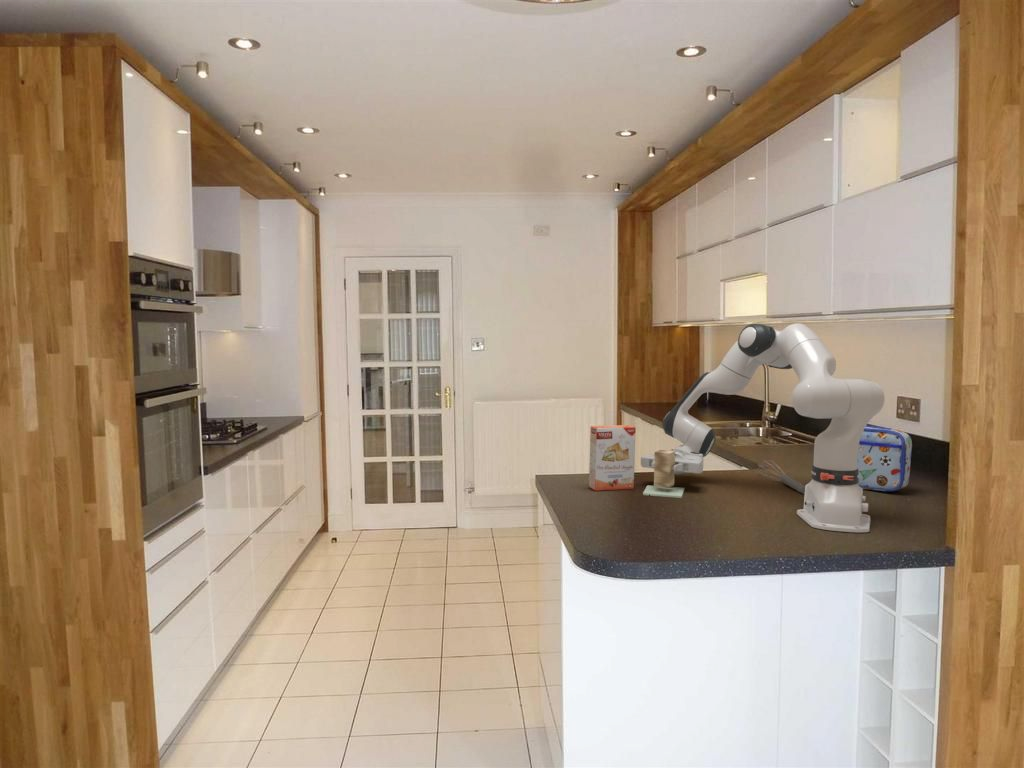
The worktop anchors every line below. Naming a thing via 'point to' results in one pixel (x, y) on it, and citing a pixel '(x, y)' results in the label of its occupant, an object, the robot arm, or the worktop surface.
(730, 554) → the worktop surface
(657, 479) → the oak pillar
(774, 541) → the worktop surface
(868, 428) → the lunch box
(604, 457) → the cracker box
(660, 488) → the mat
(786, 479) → the kitchen whisk
